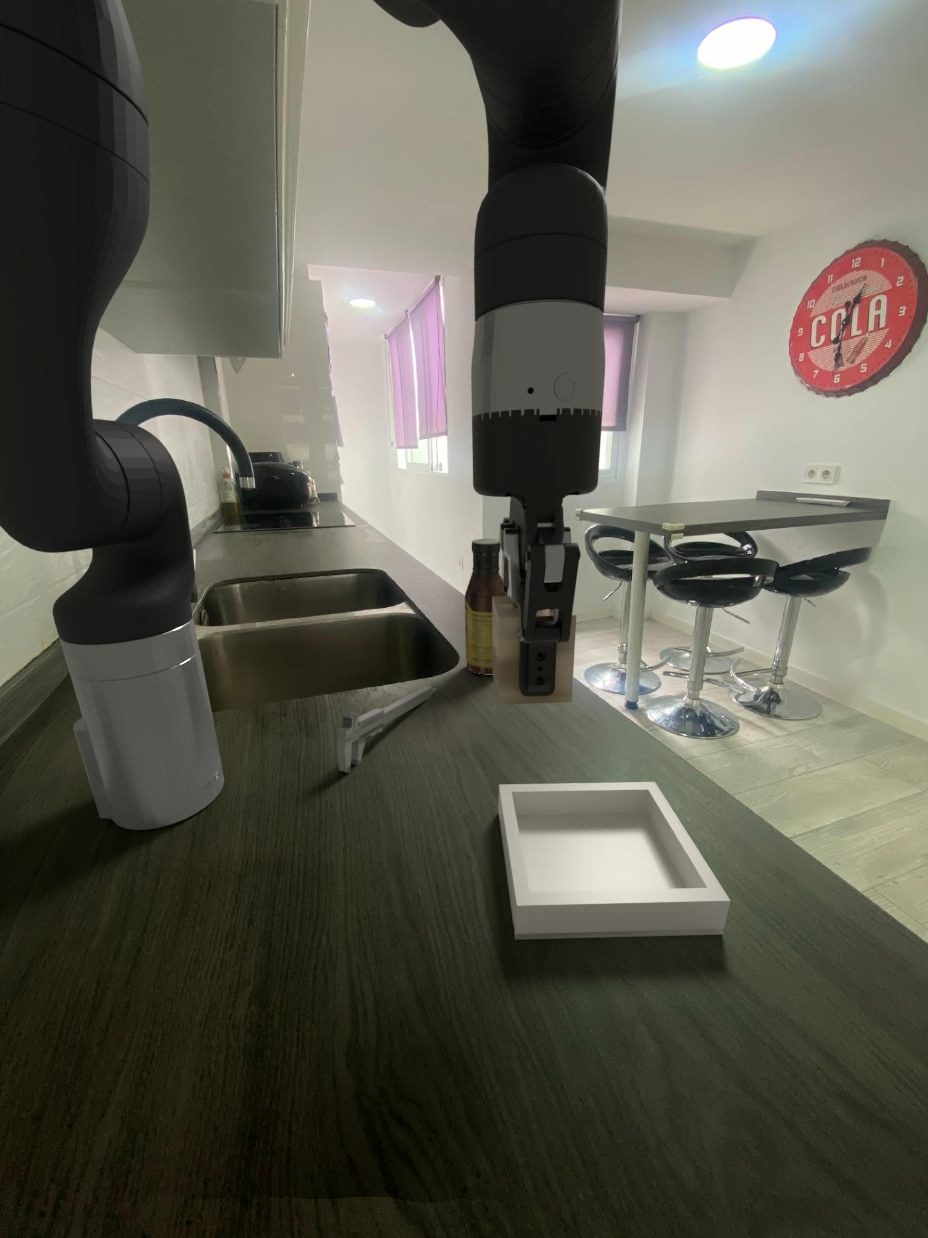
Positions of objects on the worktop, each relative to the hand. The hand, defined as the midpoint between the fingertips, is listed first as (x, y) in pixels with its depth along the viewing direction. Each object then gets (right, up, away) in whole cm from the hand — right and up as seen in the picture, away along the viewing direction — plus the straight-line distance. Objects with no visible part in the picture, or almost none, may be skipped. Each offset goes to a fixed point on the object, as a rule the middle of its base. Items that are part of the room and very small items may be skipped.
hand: (529, 674), depth 33 cm
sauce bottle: (-1, -4, +39) cm, 40 cm away
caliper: (-13, -9, +24) cm, 29 cm away
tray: (+6, -15, +4) cm, 17 cm away
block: (0, -1, 0) cm, 1 cm away
